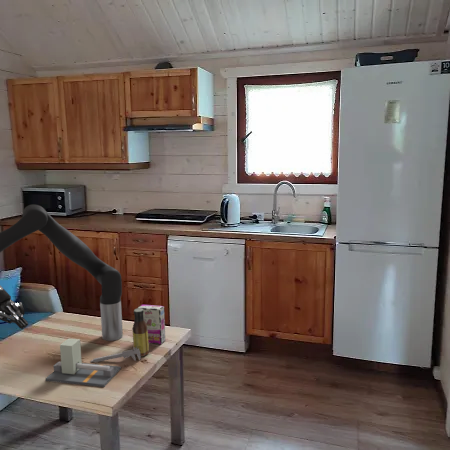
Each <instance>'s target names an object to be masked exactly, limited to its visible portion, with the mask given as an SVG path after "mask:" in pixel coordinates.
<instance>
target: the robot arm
mask: <svg viewBox="0 0 450 450" xmlns="http://www.w3.org/2000/svg"><path fill="white" fill-rule="evenodd" d="M37 231H39V232H41V233H42V234H43V235H44V236H45V237H46V238H47V239H48V240H49V241H50V242H51V243H52V244H53V245H54V246H55V248H56V249H57V250H58V251H59V252H60V253H61V254H63V256H65V257H66V258H68V259H69V260H70V261H71V262H72V263H74V264H76V265H77V266H79V267H81V268H83V269H85V270H86V271H87V272H88V273H89V274H91V276H93V278H94V279H95V280H96V281H97V282H98V283H99V284H100V285H101V295H100V296H99V308H100V322H101V323H100V324H101V325H100V326H101V338H102V340H104V341H110V342H111V341H117V340H120V339H121V338H123V336H124V335H123V333H124V332H123V316H122V314H123V313H122V299H121V298H122V295H123V287H122V286H123V285H122V284H123V281H122V275H121V273H120V272H119V270H117V269H116V268H115V267H113V266H111V265H110V264H107V263H106V262H104V261H103V260H101V259H100V258H98V256H97V255H96V254H95V253H94V252H93V250H92V249H90V247H89V246H88V245H87V244H86V243H85V242H83V240H81V239H80V238H79V237H78V236H76V235H75V234H73V233H72V232H71V231H70V230H69V229H67V228H66V227H64V226H62V225H61V224H59V222H58V221H57V220H55V219H54V217H52V216H51V215H50V213H48V212H47V211H46V209H45V208H44V207H42V206H41V205H39V204H29V205H27V206H25V207H24V209H23V211H22V217H21V218H20V219H19V220H18V221H17V222H16V223H14V224H12V226H10V227H8V228H6V229H4V230H2V231H0V253H2V252H3V251H5V250H6V249H8V248H9V247H10V246H12V245H13V244H15V243H16V242H18V241H20V240H22V239H23V238H25V237H27V236H29V235H30V234H31V235H32V234H33V233H35V232H37ZM23 305H24V304H23V302H19V303H18V302H17V303H16V301H13V300H12V296H11V295H10V294H9V293H8V292H7V291H6V290H5V289H4V288H3V286H2V285H0V321H2V322H5V323H8V324H10V325H11V324H12V323H13V324H15V325H17V327H18V328H19V329H21V330H23V329H25V328H26V327H28V325H29V322H28V321H27V319H25V317H24V315H25V313H26V312H25V309H24V306H23Z"/></svg>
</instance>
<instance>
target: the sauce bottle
mask: <svg viewBox="0 0 450 450" xmlns="http://www.w3.org/2000/svg"><path fill="white" fill-rule="evenodd" d="M143 313H144V310H143V309H142V308H138V307H137V308H135V309H134V310H133V315H134V322H133V325H132V329H131V330H132V341H133V347H135V349H136V346H137V348H139V350H140V357H144V356H147V355H148V354H149V353H150V347H149V346H150V343H148V330H147V324H146V322H145V321H144V317H143ZM135 356H137V354H135Z"/></svg>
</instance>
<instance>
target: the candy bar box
mask: <svg viewBox="0 0 450 450" xmlns="http://www.w3.org/2000/svg"><path fill="white" fill-rule="evenodd" d="M138 308H142V309H143V310H144V313H143V317H144V321H145V322H146V324H147V330H148V344H154V345H155V344H156V345H162V344H163V343H164V342H165V341H166V323H165V322H166V319H165V306H163V305H153V304H152V305H151V304H141V305H139V306H138V307H137V309H138Z"/></svg>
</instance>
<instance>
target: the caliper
mask: <svg viewBox="0 0 450 450" xmlns="http://www.w3.org/2000/svg"><path fill="white" fill-rule="evenodd" d="M135 354H137V355H135ZM136 356H137V357H136ZM122 357H123V359H126V358H129V357H131V358H132V360H133V361H135V362H136V361H137V359H138V361H141V358H142V356H140V350H139V348H137V346H136V349H135V347H134V346H133V347H132V348H131V349H127V350H124V351H122V352H118V353H114V354H109V355H105V356H101V357H95V358H93V359H91V360H90V361H89V362H90V363H99V362H105V361H109V360H114V359H118V358H122Z"/></svg>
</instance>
